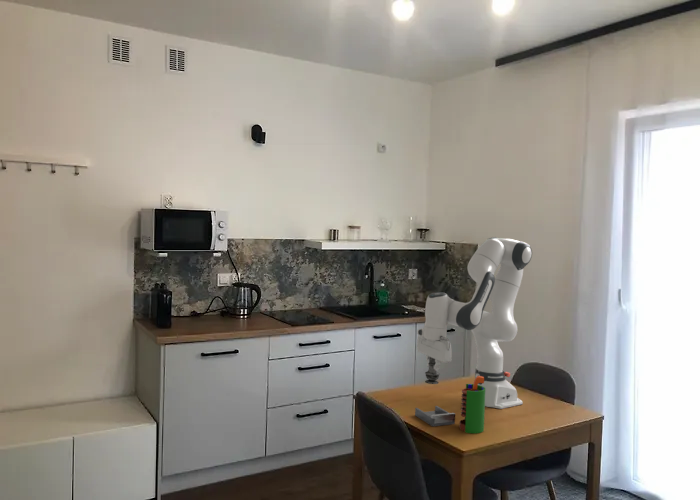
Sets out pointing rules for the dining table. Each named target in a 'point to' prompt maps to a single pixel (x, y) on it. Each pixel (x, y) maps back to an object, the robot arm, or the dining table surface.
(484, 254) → the robot arm
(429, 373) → the grey tall turned piece
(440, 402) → the dining table surface
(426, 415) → the grey open frame
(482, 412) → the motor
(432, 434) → the dining table surface
